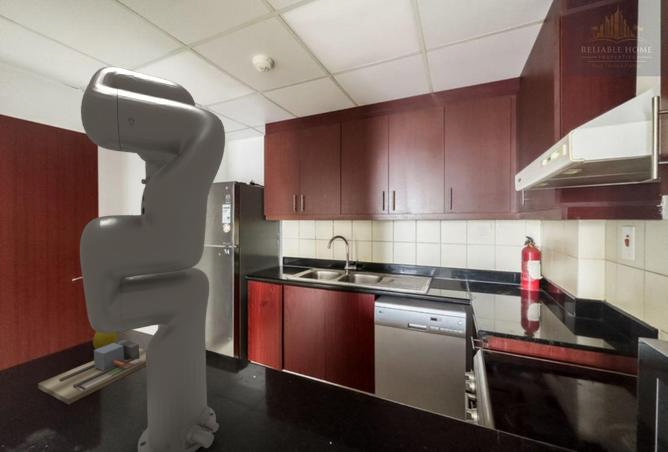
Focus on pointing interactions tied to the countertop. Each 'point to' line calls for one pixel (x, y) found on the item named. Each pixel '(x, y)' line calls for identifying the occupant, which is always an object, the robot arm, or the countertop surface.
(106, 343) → the lemon
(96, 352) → the slider block with pointer
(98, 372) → the gauge board
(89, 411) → the countertop surface
